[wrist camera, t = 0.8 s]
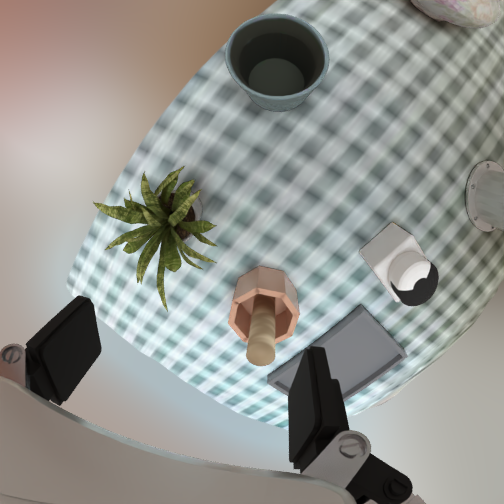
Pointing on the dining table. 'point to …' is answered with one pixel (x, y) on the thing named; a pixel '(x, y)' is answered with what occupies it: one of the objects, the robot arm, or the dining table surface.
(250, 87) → the blue-grey plant pot
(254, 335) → the dowel
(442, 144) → the dining table surface
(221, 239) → the dining table surface
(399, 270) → the medicine bottle
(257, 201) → the dining table surface
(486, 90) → the dining table surface
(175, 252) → the house plant
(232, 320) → the cup
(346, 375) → the tray
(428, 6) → the ceramic pitcher
